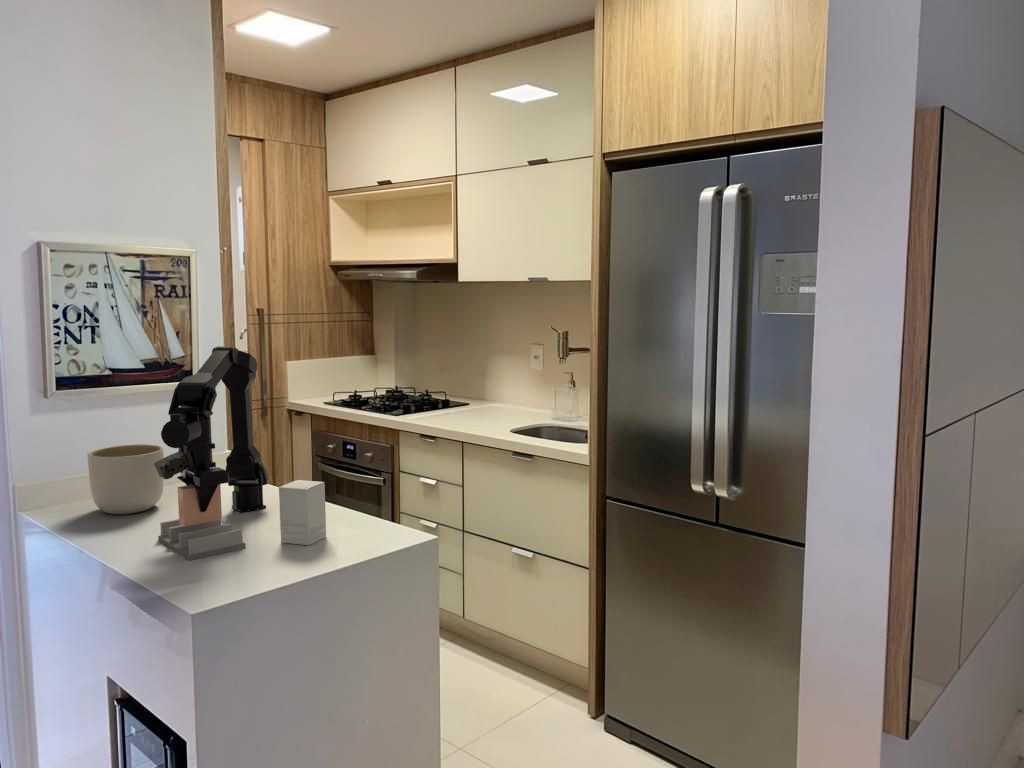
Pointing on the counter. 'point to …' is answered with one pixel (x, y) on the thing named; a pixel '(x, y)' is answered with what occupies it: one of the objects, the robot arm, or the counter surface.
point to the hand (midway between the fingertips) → (200, 510)
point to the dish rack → (200, 538)
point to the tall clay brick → (197, 507)
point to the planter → (125, 478)
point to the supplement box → (302, 512)
